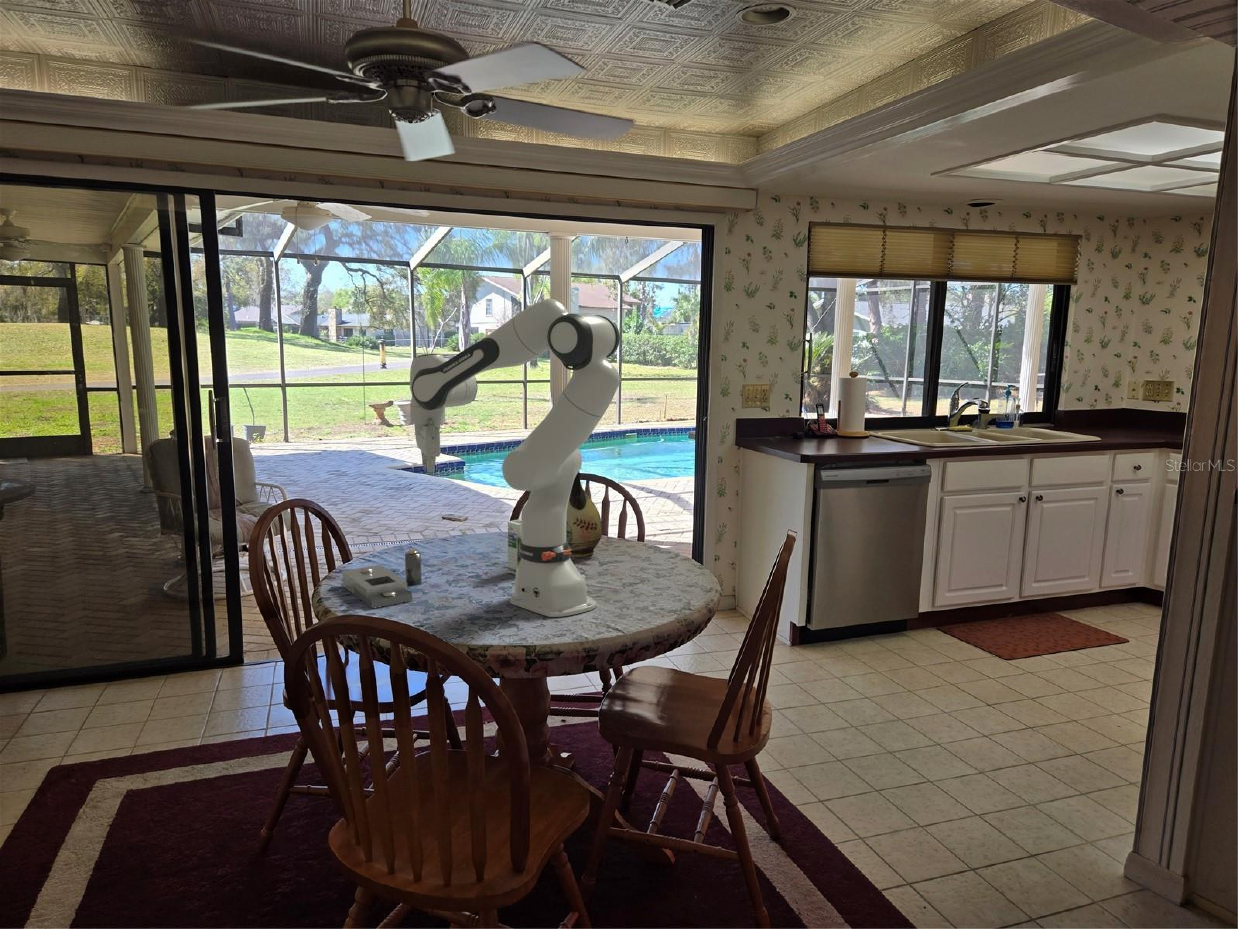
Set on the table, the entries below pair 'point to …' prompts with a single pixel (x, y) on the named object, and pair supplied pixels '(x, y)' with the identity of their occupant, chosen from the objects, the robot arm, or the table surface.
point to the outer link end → (372, 581)
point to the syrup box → (514, 545)
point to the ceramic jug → (582, 522)
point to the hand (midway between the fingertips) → (428, 469)
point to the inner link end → (385, 598)
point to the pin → (413, 567)
